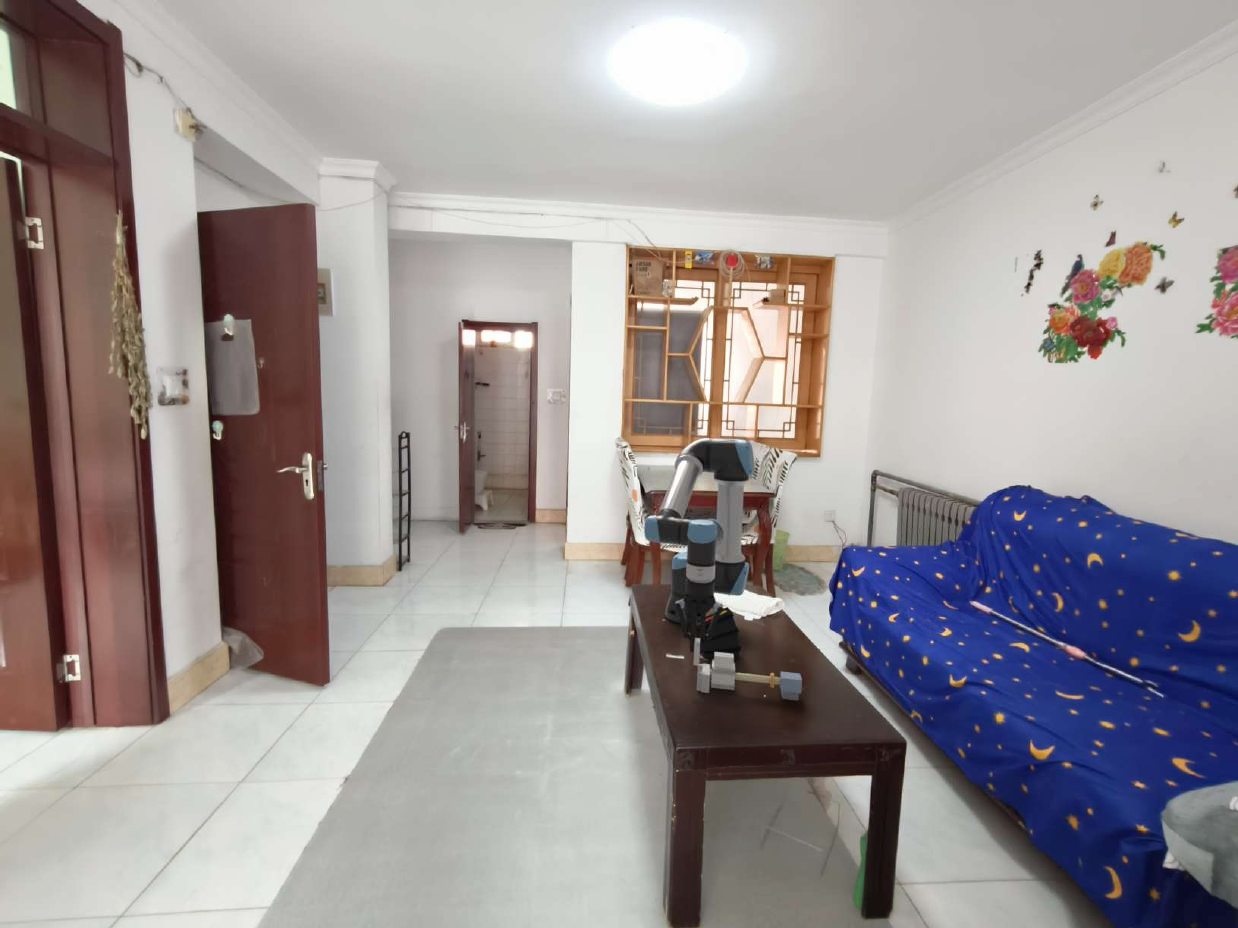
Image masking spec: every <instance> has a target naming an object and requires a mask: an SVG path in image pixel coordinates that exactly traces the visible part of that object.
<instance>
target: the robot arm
mask: <svg viewBox="0 0 1238 928" xmlns="http://www.w3.org/2000/svg"><path fill="white" fill-rule="evenodd" d="M754 456H755V455H754V450H753V446H752V444H751V442H750V441H749V440H744V439H739V438H738V439H737V438H711V437H710V438H709V437H705V438H700V439H697V440H694V441H693V442H691V443H690V444H688V445H687V446H685V447H684V448H683V449H682V450H681V452H680V453H679V454H678V456H677V457H676V460H675V462H674V469H675V470H674V473H673V475H672V477H671V480H670V483H669V484H668V487H667V490H666V493H665V496H664V497H663V500H662V503H661V505H660V507H659V510H658V513H657V515H655V514H654V515H649V516H647V517H646V519H645V522H644V537H645V539H646V540H647V541H649V542H654V543H658V544H669V545H679V546H685V547H687V549H686V551H683V552H679V553H677V554H675V555H674V556H673V558H672V562H671V564H672V565H671V578H670V579H671V582H670V583H671V585H670V589H671V590H670V595H669V599H668V601H667V604H666V606H665V614H664V615H665V617H666V619H668V621H671V622H674V623H677V624H680V626H681V630H682V635H683V638H684V639H688V640H689V651H690V652H691V653H693V666H696V667H698V666H699V664H700V655H701V654H703V653H704V645H705V641H707V640H708V641H710V640H711V639H712V636H713V633H714V630H715V626H716V623H717V620H718V617H719V615H720V614H721V612H722V611H723V609H724V605H723V604H722V603H720V604H719V602H718V601H716V597H715V594H719V595H720V594H721V595H725V596H737V597H740V596H742V595H743V594H744V592H745V588H746V584H747V580H748V576H749V569H750V563H748V562H746V557H745V555H744V554H743V553H742V536H743V535H742V534H743V533H742V532H743V531H742V530H743V514H744V513H743V509H744V488H745V484H746V483H748V482H749V480H750V478H749V477H751V476H753V475H754V473H755V458H754ZM703 473H713V480H715V482H717V501H716V502H717V503H716V504H717V505H716V519H715V518H707V519H689V518H688V519H687V518H684V517H685V514H686V510H687V508H688V505H689V502H690V500H691V497H692V494H693V491H694V489H695V485H696V483H697V480H698V478H700V477H701V475H702V474H703ZM712 608H713V613H714V614H713V613H712V614H713V617H712V621H711V624H710V627H709V630H708V633H707V634H705V623H706V616H708V615H709V611H710V610H711V609H712ZM699 619H701V630H700V632H699V634H700V635H699V637H696V628H697V626H696V624H697V623H696V621H697V620H699ZM688 625H690V632H689V628H688Z"/></svg>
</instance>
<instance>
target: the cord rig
mask: <svg viewBox="0 0 1238 928" xmlns="http://www.w3.org/2000/svg"><path fill="white" fill-rule="evenodd" d="M696 675H697V676H696V691H698V692H701V693H705V694H706V693H708V694H709V693H710V682H711V679H710V678H711V677H712V669H711V664H710V663H709V664H708V663H699V666H697V672H696ZM802 679H803V678H802V676H801V673H800V672H799V673H798V672H797V673H796V672H791V671H790V672H789V671H780V675H779V677H777V676H775V673H774V672H770V674H769V675H761V674H752V673H743V672H736V671H735V680H736V681H745V682H754V683H763V684H769V687H770V688H772V689H774V688H775V685H778V686H779V687H780V691H781V693H780V694H781V698H782V699H783V700H788V701H789V700H790V701H798V702H799V701H800V700H799V697H800V694H802V687H803V680H802Z"/></svg>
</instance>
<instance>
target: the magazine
mask: <svg viewBox="0 0 1238 928" xmlns="http://www.w3.org/2000/svg"><path fill="white" fill-rule="evenodd" d="M713 614H714V612H712V613H711V614H708V616H706V623H705V634H707V633H708V630H709V627H710V624H711V621H712V617H713ZM734 616H735V615H734V613H733V612H732V610H731V609H730V608H729V607H727V606H726V607H723V611H722V612H721V614H720V615H719V617H718V620H717V623H716V626H715V630H714V633H713V636H712V639H711V640H710V641H708V640H707V641H705V645H704V653H702V656H703V658H704V659H714V654H715V652H721V653H731V654H734V659H740V652H741V649H742V647H741V645H740V639H739V638H740V637H739V632H740V630H739V628H738V627H737V625H736V624H737V623H736V620H735V618H734ZM696 623H697V624H696V628H697V630H698V632H699V633H700V630H701V619H699V620H697V621H696Z"/></svg>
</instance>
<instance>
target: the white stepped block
mask: <svg viewBox="0 0 1238 928" xmlns="http://www.w3.org/2000/svg"><path fill="white" fill-rule="evenodd" d="M734 660H735V658H734V654H731V653H721V652H715V654H714V658H713V659H712V661H711V670H712V677H710V678H711V679H710V682H711V684H710V688H713V689H721V690H730V691H734V690H735V683H736V681H735V672H736V663H735V661H734Z"/></svg>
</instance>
